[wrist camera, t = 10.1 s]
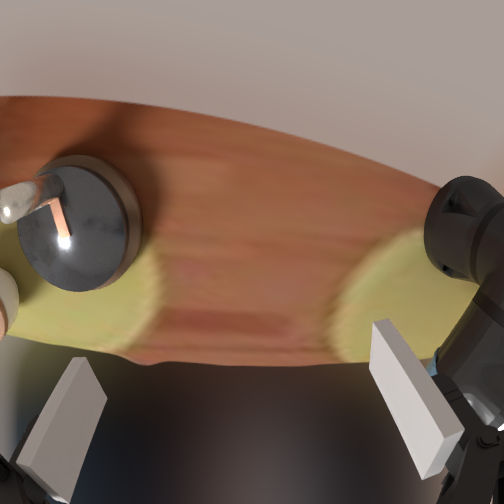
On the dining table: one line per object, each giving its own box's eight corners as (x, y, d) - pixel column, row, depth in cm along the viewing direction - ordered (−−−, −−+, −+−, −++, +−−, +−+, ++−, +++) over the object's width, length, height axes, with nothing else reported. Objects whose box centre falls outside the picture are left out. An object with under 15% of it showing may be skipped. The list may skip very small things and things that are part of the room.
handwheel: (145, 272, 36) (119, 324, 26) (49, 292, 36) (9, 338, 26) (110, 148, 31) (63, 157, 21) (12, 186, 31) (-44, 208, 21)
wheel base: (156, 275, 39) (153, 282, 37) (50, 289, 39) (44, 296, 37) (127, 139, 33) (122, 139, 31) (17, 173, 33) (8, 176, 31)
